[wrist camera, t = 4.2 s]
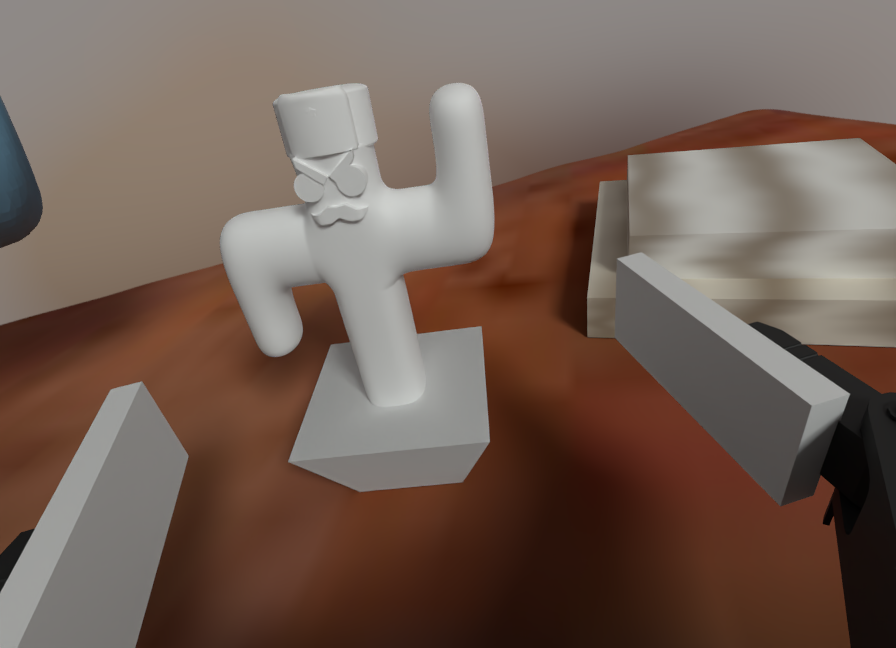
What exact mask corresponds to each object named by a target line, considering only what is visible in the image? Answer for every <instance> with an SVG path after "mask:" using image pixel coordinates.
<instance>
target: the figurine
mask: <svg viewBox="0 0 896 648" xmlns="http://www.w3.org/2000/svg"><path fill="white" fill-rule="evenodd" d="M273 108H274V111H275V115H276V118H277V121H278V125H279V129H280V133H281V136H282V140H283V143H284V146H285V150H286V154H287V156H288V157H289V158H290V160H291V162H292V164H293V167H294V169H295V172H296V175H297V177H296V179H295V181H294V190H295V192H296V194H297V195H298V196H299V198H301V199H302V200H304V201H305V204H298V205H291V206H285V207H278V208H272V209H265V210H259V211H252V212H247V213H242V214H240V215H237V216H235V217H233V218H232V219H230V220H229V221H228V222H227V223H226V225H225V226H224V228H223V229H222V233H221V236H220V251H221V256H222V261H223V264H224V267H225V270H226V273H227V276H228V279H229V281H230V284H231V286H232V289H233V291H234V293H235V295H236V298H237V300H238V302H239V305H240V307H241V309H242V311H243V314H244V316H245V318H246V320H247V323H248V325H249V327H250V329H251V332H252V334H253V336H254V338H255V341H256V343H257V345H258V347H259V348H260V350H261V351H262V352H263V353H264V354H265V355H267V356H270V357H280V356H284V355H286V354H288V353H290V352H291V351H293V350H294V349H295V348H296V346H297V345H298V344H299V342H300V340H301V338H302V333H303V326H302V321H301V317H300V315H299V312H298V309H297V306H296V304H295V300H294V297H293V293H292V289H291V287H296V286H304V285H311V284H319V283H327V284H328V285H329V286H330V288H331V289H332V290H333V291H334V294H335V297H336V300H337V303H338V306H339V309H340V312H341V315H342V319H343V322H344V325H345V328H346V331H347V334H348V337H349V341H350V342H349V343H341V344H332V345H331V346H330V349H329V351H328V354H327V357H326V359H325V362H324V365H323V368H322V370H321V373H320V376H319V379H318V381H317V384H316V387H315V389H314V392H313V395H312V398H311V400H310V403H309V406H308V409H307V411H306V414H305V417H304V420H303V422H302V425H301V428H300V430H299V433H298V436H297V439H296V441H295V444H294V447H293V450H292V452H291V455H290V458H289V460H288V462H290V463H292V464H294V465H297V466H299V467H302V468H304V469H306V470H309V471H311V472H314V473H316V474H318V475H321V476H323V477H326V478H328V479H330V480H333V481H335V482H338V483H340V484H342V485H345V486H347V487H350V488H352V489H354V490H357V491H359V492H362V491H373V490H384V489H395V488H406V487H417V486H428V485H438V484H449V483H460V482H463V481H464V479H465V478H466V477H467V475H468V474H469V472H470V471H471V469H472V468H473V466H474V465H475V463H476V462H477V460H478V459H479V457H480V456H481V454H482V453H483V451H484V450H485V448H486V447H487V445H488V444H489V443H490V435H489V422H488V408H487V394H486V381H485V367H484V353H483V340H482V326H480V327H472V328H464V329H456V330H447V331H439V332H431V333H423V334H417V333H416V328H415V324H414V320H413V315H412V311H411V306H410V302H409V298H408V293H407V289H406V285H405V280H404V276H403V274H405V273H407V272H411V271H416V270H423V269H430V268H438V267H445V266H453V265H460V264H466V263H470V262H473V261H476V260H478V259H480V258H481V257H483V256H484V255H485V254H486V253H487V252H488V250H489V248H490V246H491V243H492V240H493V235H494V203H493V192H492V183H491V174H490V165H489V156H488V147H487V137H486V129H485V120H484V112H483V106H482V102H481V99H480V96H479V94H478V93H477V91H476V90H475V89H474V88H473V87H472V86H470V85H468V84H464V83H452V84H447V85H445V86H443V87H441V88H439V89H438V90H437V91H436V92H435V93H434V95H433V96H432V98H431V101H430V108H429V111H430V112H429V113H430V124H431V131H432V136H433V142H434V149H435V157H436V179H435V181H434V182H433V183H432V184H429V185H425V186H417V187H411V188H404V189H392V188H389V187H387V186H386V185H385V184H384V182H383V181H382V179H381V175H380V171H379V167H378V162H377V158H376V153H375V148H374V143H376V142H377V140H378V136H377V131H376V126H375V121H374V116H373V111H372V106H371V101H370V96H369V91H368V87H367V86H366V85H364V84H359V83H352V84H342V85H335V86H329V87H323V88H317V89H312V90H306V91H302V92H297V93H292V94H282V95H279V98H277V99H276V100H275V101H274V102H273Z"/></svg>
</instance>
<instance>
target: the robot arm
mask: <svg viewBox="0 0 896 648" xmlns="http://www.w3.org/2000/svg"><path fill="white" fill-rule="evenodd" d="M42 209H43V206H42V198H41V194H40V190H39V188H38V185H37V183H36V180H35V177H34V174H33V171H32V169H31V166H30V164H29V161H28V159H27V156H26V154H25V151H24V149H23V146H22V144H21V142H20V139H19V137H18V135H17V132H16V130H15V128H14V126H13V124H12V121H11V119H10V116H9V115H8V112H7V110H6V108H5V105H4V103H3V101H2V99H1V97H0V248H1V247H4V246H7V245H10V244H12V243H15V242H18V241H20V240H22V239H23V238H24V237H26V236H27V235H29V234H30V232H31V231H32V230H33V229H34V228H35V227H36V226H37V225H38V223H39V221H40V218H41V215H42ZM615 338H616V339H617V340H618V341H619V342H620V343H621V345H622V346H623V347H624V348H625V349H626V350H627V351H628V352H629V353H630V354H631V355H632V356H633V357H634V358H635V359H636V360H637V361H638V362H639V363H640V364H641V365H642V366H643V367H644V368H645V369H646V370H647V371H648V372H649V373H650V374H651V375H652V376H653V377H654V378H655V379H656V380H657V381H658V382H659V383H660V384H661V385H662V386H663V387H664V388H665V389H666V390H667V391H668V392H669V393H670V394H671V395H672V396H673V397H674V398H675V399H676V401H677V402H678V403H679V404H680V405H681V406H682V407H683V408H684V409H685V410H686V411H687V412H688V413H689V414H690V415H691V416H692V417H693V418H694V419H695V420H696V421H697V422H698V423H699V424H700V425H701V426H702V427H703V428H704V429H705V430H706V431H707V432H708V433H709V434H710V435H711V436H712V437H713V438H714V439H715V440H716V441H717V442H718V443H719V444H720V445H721V446H722V447H723V448H724V449H725V450H726V451H727V452H728V453H729V454H730V455H731V456H732V458H733V459H734V460H735V461H736V462H737V463H738V464H739V465H740V466H741V467H742V468H743V469H744V470H745V471H746V472H747V473H748V474H749V475H750V476H751V477H752V478H753V479H754V480H755V481H756V482H757V483H758V484H759V485H760V486H761V487H762V488H763V489H764V490H765V491H766V492H767V493H768V494H769V495H770V496H771V497H772V498H773V499H774V500H775V501H776V502H777V503H778V504H779V505H780V506H783V505H786V504H789V503H792V502H795V501H798V500H801V499H804V498H807V497H810V496H813V495H814V492H815V489H816V487H817V484H818V481H819V478H820V476H821V475H822V476H823V477H824V478H825V479H826V480H827V481H829V482H830V483H831V484H832V485H833V486H834V487H835V489H834V492H833V494H832V497H831V500H830V502H829V505H828V507H827V510H826V512H825V515H824V519H823V524H825V525H830V522H831V520H832V517H833V516H834V520H835V528H836V535H837V543H838V551H839V559H840V567H841V574H842V582H843V590H844V598H845V606H846V613H847V621H848V629H849V637H850V645H851V648H896V393H891V392H890V393H885V394H881V393H879V392H878V391H876V390H875V389H873V388H872V387H870V386H868V385H867V384H865V383H864V382H862V381H861V380H859V379H858V378H856V377H854V376H853V375H851V374H850V373H848V372H847V371H845V370H844V369H842V368H840V367H839V366H837V365H836V364H834V363H833V362H831V361H830V360H828V359H826V358H825V357H823V356H822V355H820V356H818V354H817V352H816V351H814V350H812V349H811V348H809V347H808V346H806V345H802V344H801V342H800V341H798V340H797V339H795V338H794V337H792V336H791V335H789V334H787V333H786V332H784V331H783V330H781V329H778V328H775V327H772V326H769V325H767V324H764V323H761V322H758V321H757V322H753V323H750V324H746V323H745V322H743V321H742V320H740V319H739V318H738V317H736V316H735V315H733V314H732V313H730V312H729V311H727V310H726V309H724V308H723V307H721V306H720V305H718V304H717V303H715V302H714V301H713V300H711V299H710V298H708V297H707V296H705V295H704V294H702V293H701V292H699V291H698V290H696V289H695V288H693V287H692V286H690V285H689V284H687V283H686V282H685V281H683V280H682V279H680V278H679V277H677V276H676V275H674V274H673V273H671V272H670V271H668V270H667V269H665V268H664V267H662V266H661V265H660V264H658V263H657V262H655V261H654V260H652V259H651V258H649V257H648V256H646V255H645V254H643V253H642V252H640V253H636V254H632V255H629V256H625V257H621V258H617V270H616V305H615ZM188 457H189V456H188V454H187V453H186V451H185V449H184V448H183V446H182V445H181V443H180V441H179V440H178V438H177V437H176V435H175V433H174V432H173V430H172V429H171V427H170V425H169V424H168V422H167V421H166V419H165V417H164V416H163V414H162V413H161V411H160V409H159V408H158V406H157V405H156V403H155V401H154V400H153V398H152V397H151V395H150V393H149V392H148V390H147V389H146V387H145V385H144V384H143V382H138V383H134V384H130V385H126V386H122V387H118V388H115V389H111V390H110V392H109V394H108V396H107V397H106V399H105V401H104V403H103V405H102V407H101V408H100V410H99V412H98V414H97V416H96V418H95V419H94V421H93V423H92V425H91V427H90V429H89V431H88V432H87V434H86V436H85V438H84V440H83V442H82V443H81V445H80V447H79V449H78V451H77V453H76V454H75V456H74V458H73V460H72V462H71V464H70V465H69V467H68V469H67V471H66V473H65V475H64V476H63V478H62V480H61V482H60V484H59V486H58V488H57V489H56V491H55V493H54V495H53V497H52V499H51V500H50V502H49V504H48V506H47V508H46V510H45V511H44V513H43V515H42V517H41V519H40V521H39V522H38V524H37V526H36V528H35V529H32V530H28V531H25V532H21V533H20V534H19V535H18V536H17V538H16V539H15V540H14V541H13V542H12V543H11V544H10V545H9V546H8V547H7V548H6V549H5V550H4V551H3V552H2V554H1V555H0V648H135V647H136V643H137V640H138V636H139V632H140V629H141V625H142V622H143V618H144V615H145V611H146V607H147V604H148V600H149V597H150V593H151V589H152V586H153V582H154V579H155V575H156V571H157V568H158V564H159V561H160V557H161V554H162V550H163V546H164V543H165V539H166V536H167V532H168V528H169V525H170V521H171V518H172V514H173V510H174V507H175V503H176V500H177V496H178V493H179V489H180V485H181V482H182V478H183V475H184V471H185V467H186V464H187V460H188Z"/></svg>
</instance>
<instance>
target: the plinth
mask: <svg viewBox="0 0 896 648" xmlns="http://www.w3.org/2000/svg"><path fill="white" fill-rule="evenodd" d="M640 252H642V253H643V254H645V255H646V256H648V257H649V258H651V259H652V260H654V261H655V262H657V263H658V264H660V265H661V266H662V267H664V268H665V269H667V270H668V271H670V272H671V273H673V274H674V275H676V276H677V277H679V278H680V279H682V280H683V281H685V282H686V283H687V284H689V285H690V286H692V287H693V288H695V289H696V290H698V291H699V292H701V293H702V294H704V295H705V296H707V297H708V298H710V299H711V300H713V301H714V302H715V303H717V304H718V305H720V306H721V307H723V308H724V309H726V310H727V311H729V312H730V313H732V314H733V315H735V316H736V317H738V318H739V319H740V320H742V321H743V322H745V323H746V324H750V323H753V322H757V321H758V322H761V323H764V324H767V325H769V326H772V327H775V328H778V329H781V330H783V331H784V332H786V333H787V334H789V335H791V336H792V337H794V338H795V339H797V340H798V341H800V342H801V344H814V345H844V346H875V347H896V164H895V163H893V162H892V161H890V160H889V159H888V158H886V157H885V156H884V155H882V154H881V153H879V152H878V151H877V150H875V149H874V148H873V147H871V146H870V145H868V144H867V143H866V142H864V141H863V140H862V139H860V138H854V139H841V140H828V141H815V142H801V143H788V144H775V145H761V146H748V147H735V148H721V149H708V150H695V151H682V152H668V153H655V154H642V155H628V169H627V180H621V181H604V182H600V188H599V197H598V205H597V214H596V223H595V232H594V241H593V250H592V259H591V268H590V277H589V286H588V294H587V337H599V338H615V305H616V270H617V258H621V257H625V256H629V255H632V254H636V253H640Z"/></svg>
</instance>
